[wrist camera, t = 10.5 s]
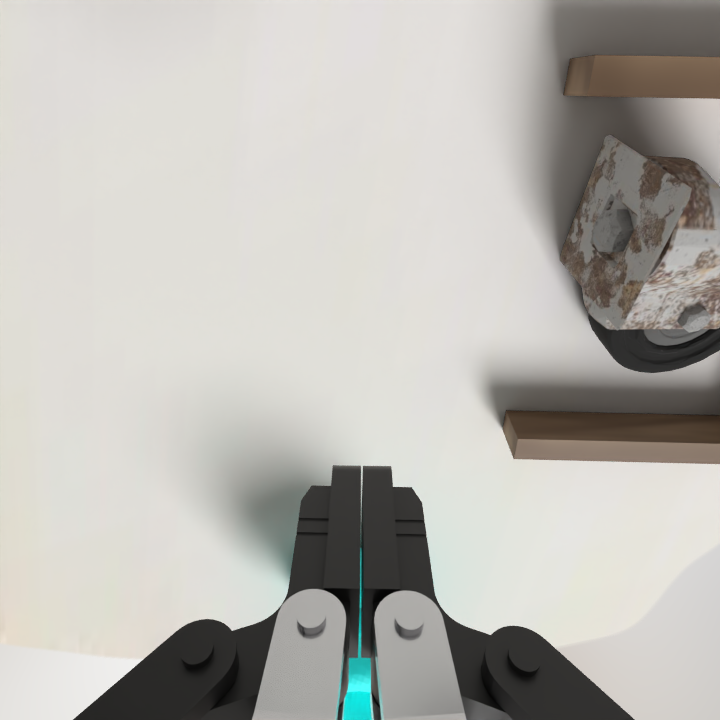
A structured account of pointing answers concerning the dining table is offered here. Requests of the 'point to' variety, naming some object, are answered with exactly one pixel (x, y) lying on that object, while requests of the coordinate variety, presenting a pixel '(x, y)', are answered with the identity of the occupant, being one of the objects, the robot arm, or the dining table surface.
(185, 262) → the dining table surface
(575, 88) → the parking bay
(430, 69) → the dining table surface
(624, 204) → the caster wheel
